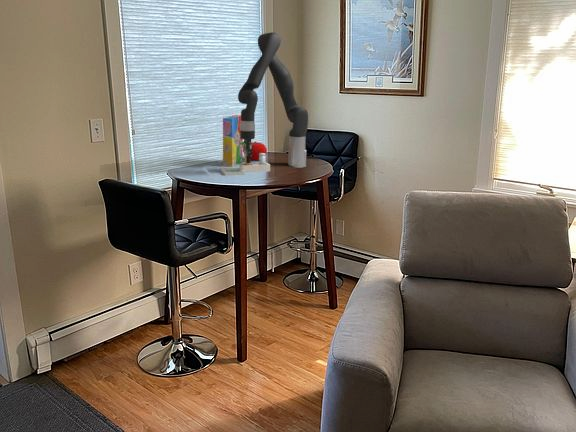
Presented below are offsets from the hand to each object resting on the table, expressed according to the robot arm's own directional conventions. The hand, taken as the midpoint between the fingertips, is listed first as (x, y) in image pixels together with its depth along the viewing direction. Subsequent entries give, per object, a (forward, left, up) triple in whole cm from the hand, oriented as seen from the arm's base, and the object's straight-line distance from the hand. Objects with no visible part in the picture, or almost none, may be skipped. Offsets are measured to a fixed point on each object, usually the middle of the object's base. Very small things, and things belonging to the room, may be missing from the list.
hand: (247, 162), depth 285 cm
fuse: (-8, 0, -5) cm, 9 cm away
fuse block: (-4, 0, -6) cm, 7 cm away
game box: (+3, -23, -6) cm, 24 cm away
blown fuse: (0, 0, -5) cm, 5 cm away
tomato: (-14, -36, -6) cm, 39 cm away
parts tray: (+9, +4, -6) cm, 11 cm away
